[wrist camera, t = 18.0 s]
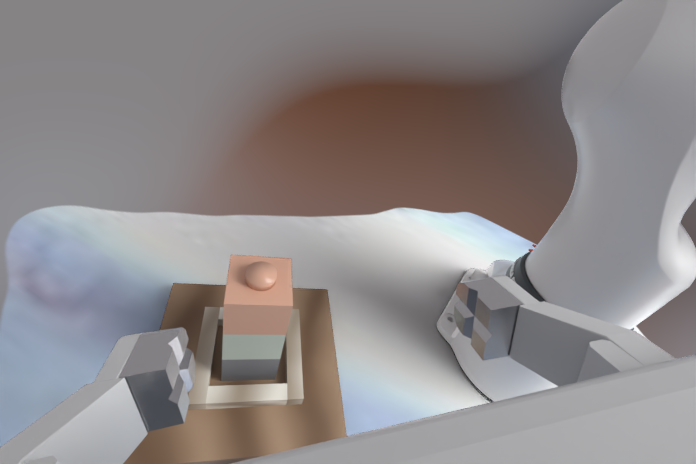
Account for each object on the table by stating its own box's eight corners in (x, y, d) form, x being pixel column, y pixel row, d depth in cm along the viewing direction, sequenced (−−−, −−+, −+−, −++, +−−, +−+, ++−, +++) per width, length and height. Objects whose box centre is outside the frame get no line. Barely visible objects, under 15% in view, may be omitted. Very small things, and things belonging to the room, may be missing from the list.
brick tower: (275, 334, 37) (292, 252, 29) (275, 379, 33) (294, 299, 25) (227, 334, 36) (231, 247, 28) (221, 381, 32) (223, 297, 24)
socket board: (324, 296, 45) (329, 283, 43) (344, 453, 31) (351, 443, 30) (174, 291, 40) (172, 276, 38) (122, 474, 27) (116, 464, 25)
